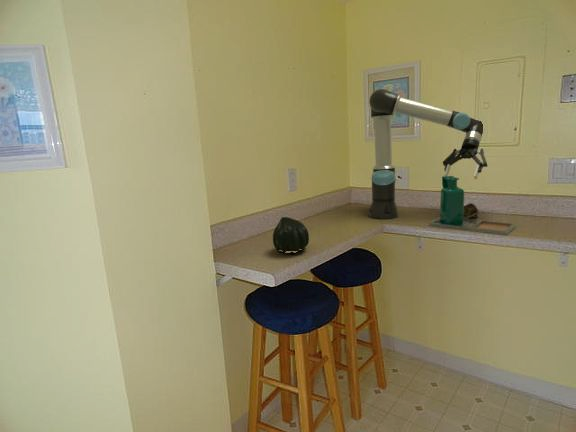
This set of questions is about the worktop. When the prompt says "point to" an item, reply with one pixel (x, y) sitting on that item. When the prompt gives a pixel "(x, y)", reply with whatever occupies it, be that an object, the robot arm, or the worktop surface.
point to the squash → (290, 235)
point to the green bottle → (451, 202)
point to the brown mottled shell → (470, 211)
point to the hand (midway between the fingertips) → (460, 177)
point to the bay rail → (479, 226)
